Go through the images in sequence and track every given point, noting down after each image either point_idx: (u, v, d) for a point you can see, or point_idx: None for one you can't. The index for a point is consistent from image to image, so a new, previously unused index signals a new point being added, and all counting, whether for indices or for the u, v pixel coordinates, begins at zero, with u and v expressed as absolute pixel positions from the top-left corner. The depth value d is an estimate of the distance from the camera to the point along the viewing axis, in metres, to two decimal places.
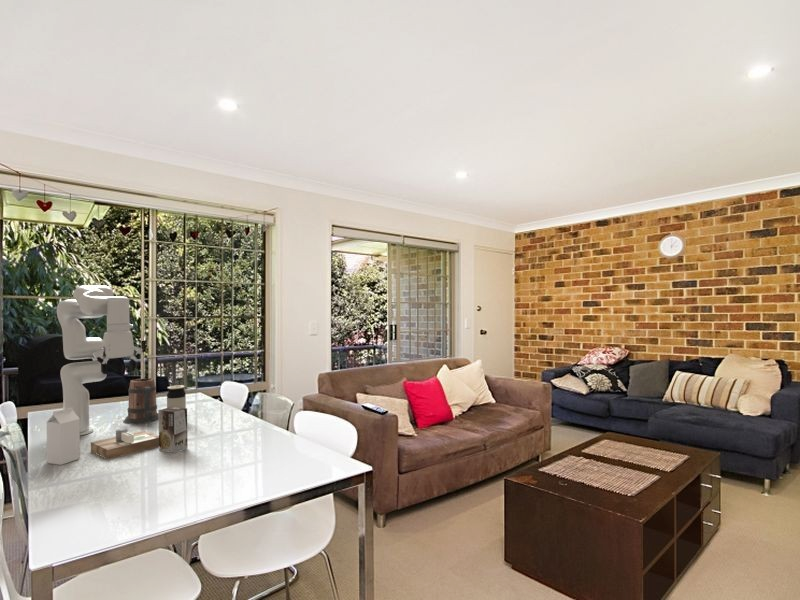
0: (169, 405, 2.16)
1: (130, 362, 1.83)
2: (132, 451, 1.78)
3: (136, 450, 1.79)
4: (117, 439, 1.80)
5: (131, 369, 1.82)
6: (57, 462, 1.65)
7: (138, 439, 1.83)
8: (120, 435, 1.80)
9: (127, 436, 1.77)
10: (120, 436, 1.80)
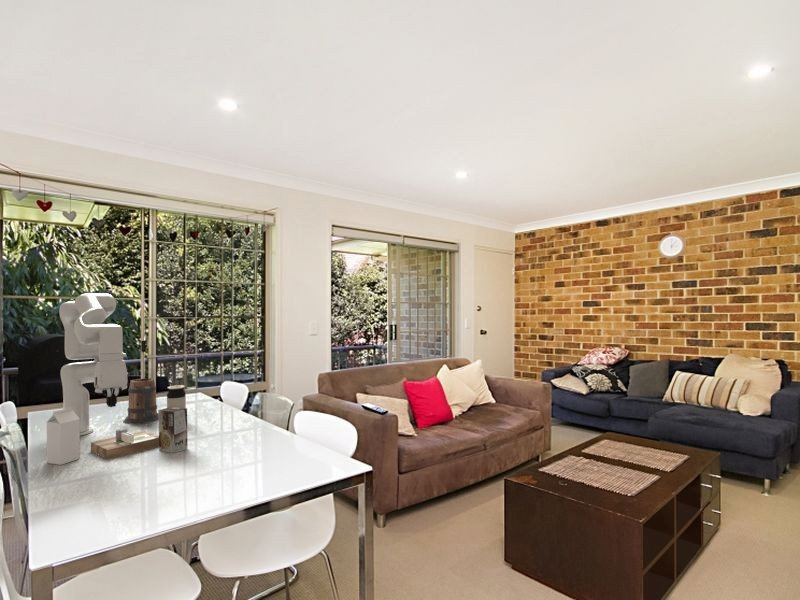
0: (169, 405, 2.16)
1: None
2: (132, 451, 1.78)
3: (136, 450, 1.79)
4: (117, 439, 1.80)
5: None
6: (57, 462, 1.65)
7: (138, 439, 1.83)
8: (120, 435, 1.80)
9: (127, 436, 1.77)
10: (120, 436, 1.80)
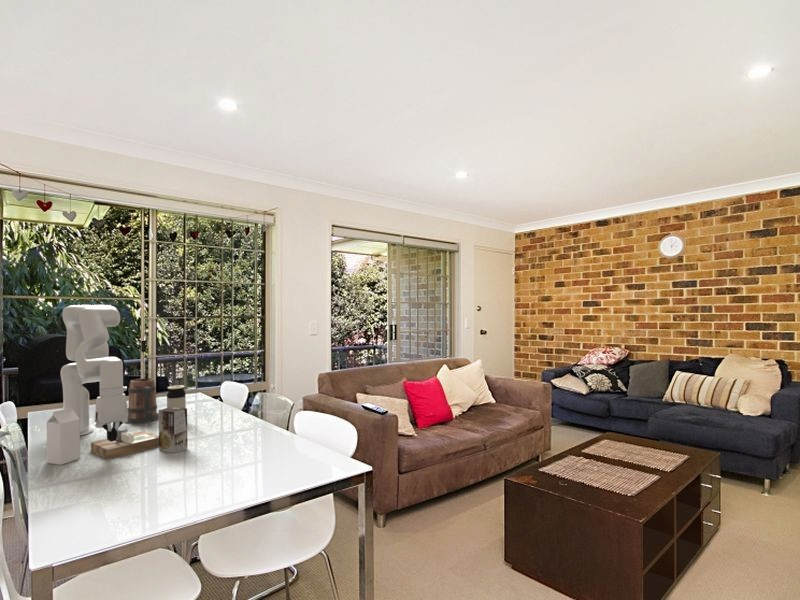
0: (169, 405, 2.16)
1: None
2: (132, 451, 1.78)
3: (136, 450, 1.79)
4: (117, 439, 1.80)
5: None
6: (57, 462, 1.65)
7: (138, 439, 1.83)
8: (120, 435, 1.80)
9: (127, 436, 1.77)
10: (120, 436, 1.80)
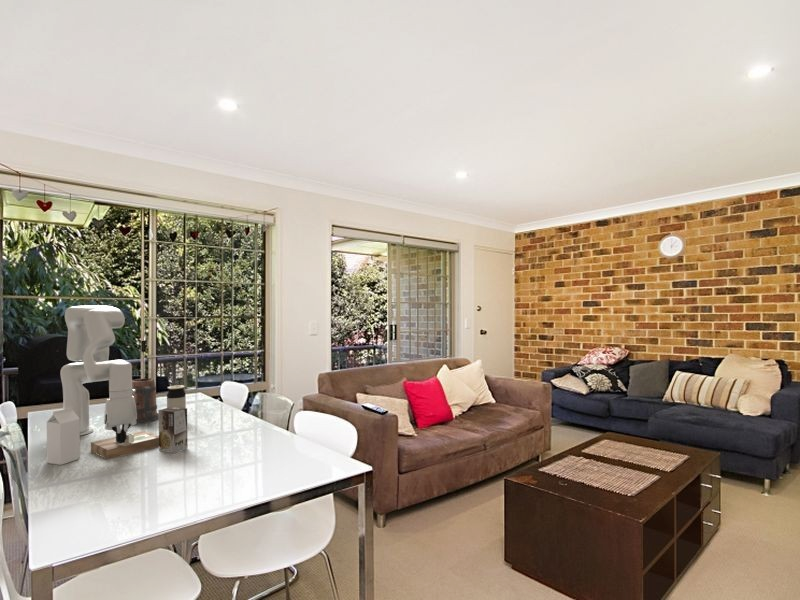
0: (169, 405, 2.16)
1: None
2: (132, 451, 1.78)
3: (136, 450, 1.79)
4: None
5: None
6: (57, 462, 1.65)
7: (138, 439, 1.83)
8: None
9: (127, 436, 1.77)
10: None
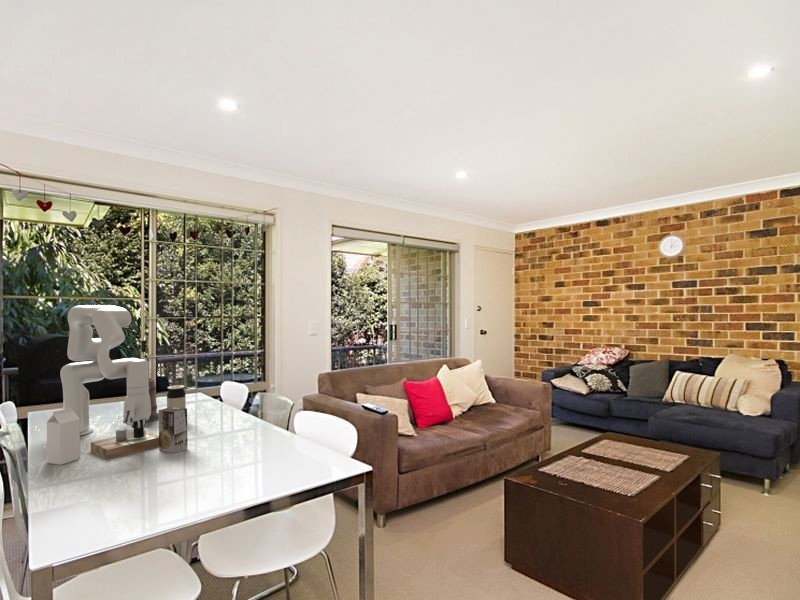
0: (169, 405, 2.16)
1: None
2: (132, 451, 1.78)
3: (136, 450, 1.79)
4: (122, 439, 1.81)
5: None
6: (57, 462, 1.65)
7: (138, 439, 1.83)
8: (125, 434, 1.82)
9: None
10: (125, 435, 1.82)
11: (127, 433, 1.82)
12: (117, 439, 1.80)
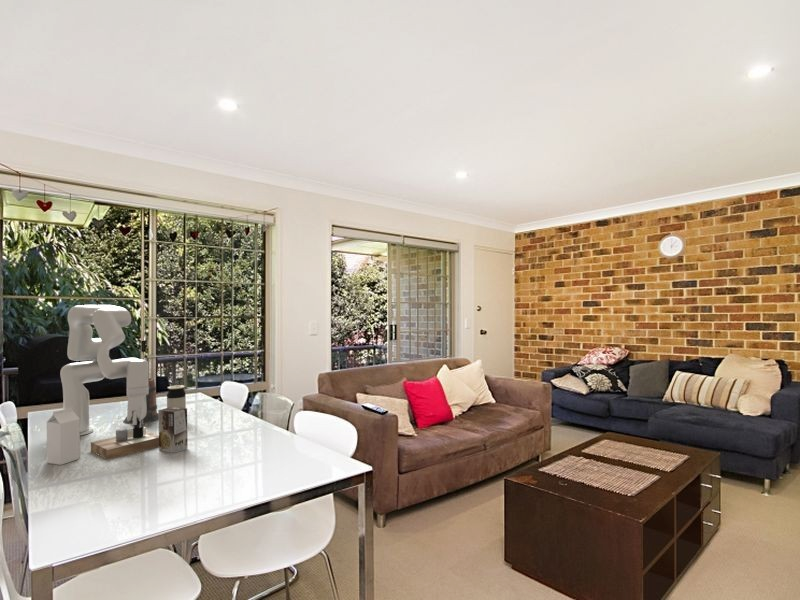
0: (169, 405, 2.16)
1: None
2: (132, 451, 1.78)
3: (136, 450, 1.79)
4: (125, 438, 1.81)
5: None
6: (57, 462, 1.65)
7: (138, 439, 1.83)
8: (127, 433, 1.83)
9: (143, 429, 1.87)
10: (127, 434, 1.83)
11: (128, 432, 1.83)
12: (119, 439, 1.80)
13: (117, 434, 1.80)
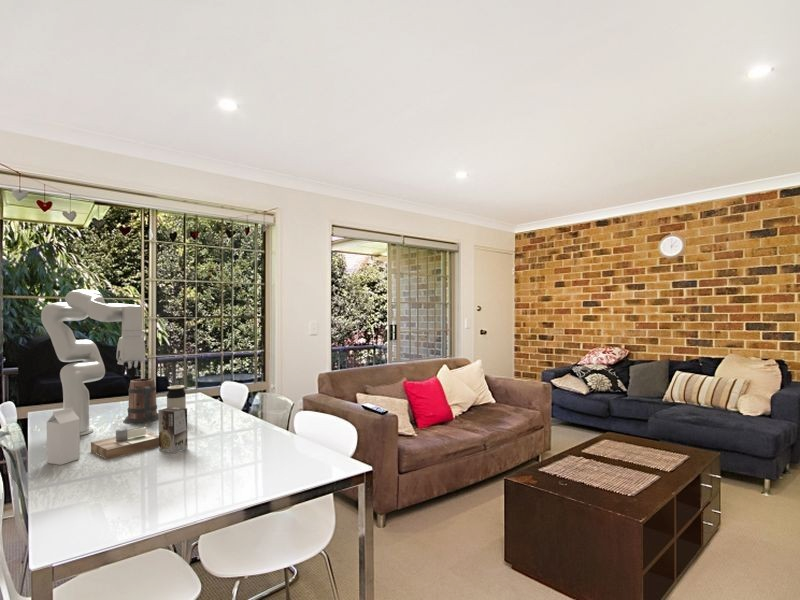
0: (169, 405, 2.16)
1: None
2: (132, 451, 1.78)
3: (136, 450, 1.79)
4: (125, 438, 1.81)
5: None
6: (57, 462, 1.65)
7: (138, 439, 1.83)
8: (127, 433, 1.83)
9: (143, 429, 1.87)
10: (127, 434, 1.83)
11: (128, 432, 1.83)
12: (119, 439, 1.80)
13: (117, 434, 1.80)
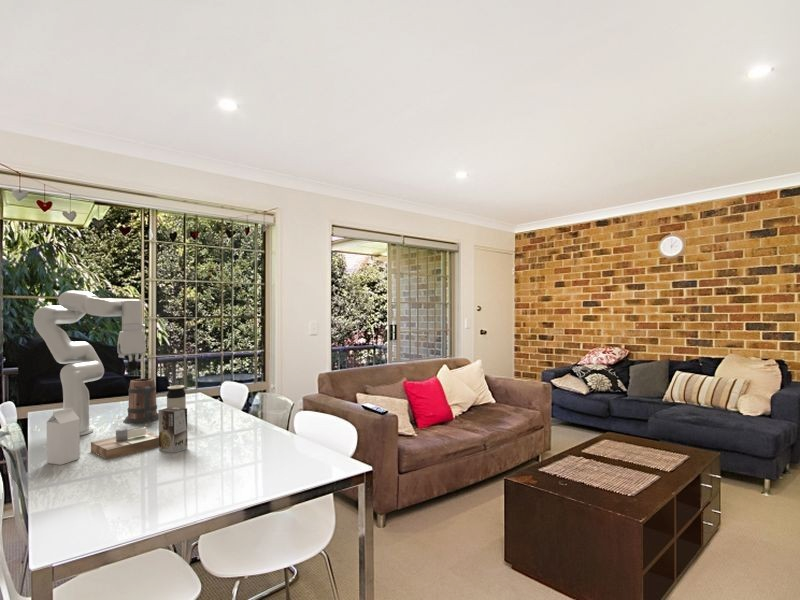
0: (169, 405, 2.16)
1: None
2: (132, 451, 1.78)
3: (136, 450, 1.79)
4: (125, 438, 1.81)
5: None
6: (57, 462, 1.65)
7: (138, 439, 1.83)
8: (127, 433, 1.83)
9: (143, 429, 1.87)
10: (127, 434, 1.83)
11: (128, 432, 1.83)
12: (119, 439, 1.80)
13: (117, 434, 1.80)
